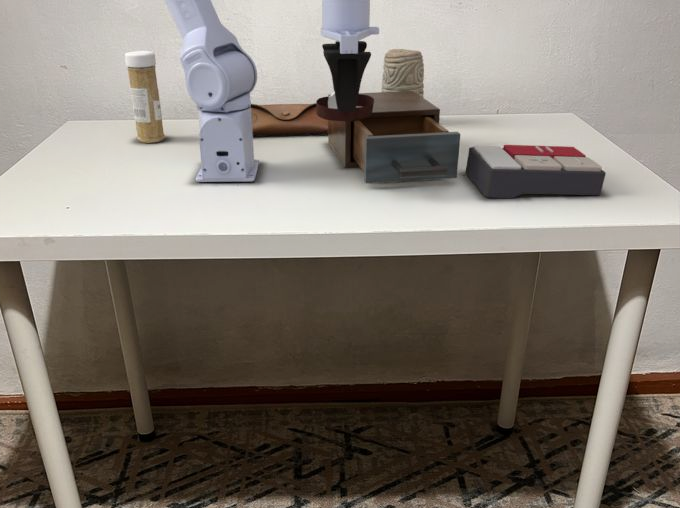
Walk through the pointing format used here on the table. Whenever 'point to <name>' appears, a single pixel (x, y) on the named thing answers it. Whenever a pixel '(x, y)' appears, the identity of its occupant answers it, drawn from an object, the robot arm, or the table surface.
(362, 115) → the watch
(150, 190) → the table surface
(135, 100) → the sprinkles bottle
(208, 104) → the robot arm
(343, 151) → the cabinet
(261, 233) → the table surface
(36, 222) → the table surface
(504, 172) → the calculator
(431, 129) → the drawer
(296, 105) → the sunglasses case
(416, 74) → the carving
